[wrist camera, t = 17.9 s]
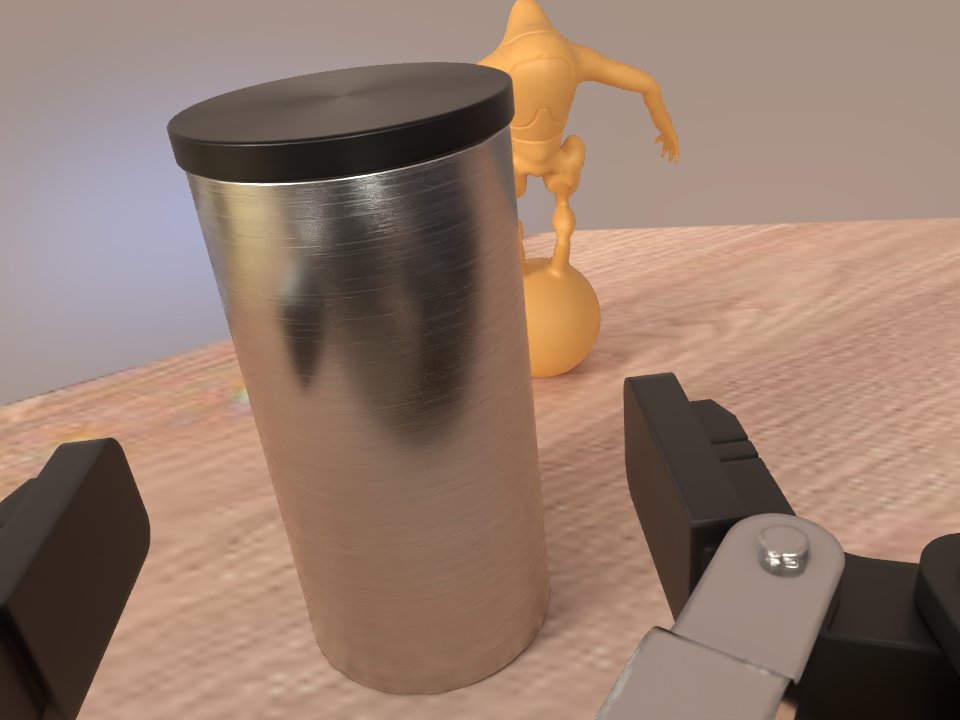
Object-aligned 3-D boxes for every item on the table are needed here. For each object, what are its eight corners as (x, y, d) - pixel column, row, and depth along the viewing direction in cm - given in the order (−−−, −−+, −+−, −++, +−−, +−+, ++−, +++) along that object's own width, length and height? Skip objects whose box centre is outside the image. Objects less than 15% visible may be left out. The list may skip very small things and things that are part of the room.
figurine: (646, 327, 30) (644, -32, 25) (701, 415, 25) (714, -16, 19) (422, 358, 30) (366, 2, 24) (429, 454, 25) (360, 27, 19)
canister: (292, 715, 17) (115, 161, 11) (323, 530, 22) (212, 83, 17) (571, 683, 17) (529, 112, 11) (538, 505, 22) (498, 49, 17)
